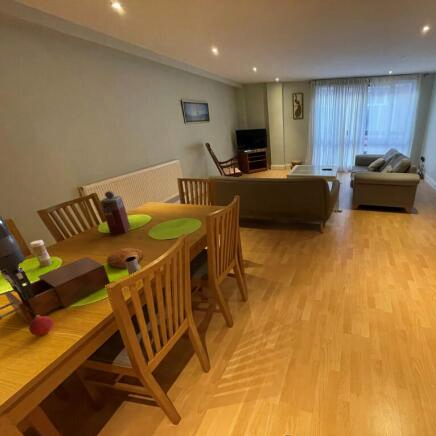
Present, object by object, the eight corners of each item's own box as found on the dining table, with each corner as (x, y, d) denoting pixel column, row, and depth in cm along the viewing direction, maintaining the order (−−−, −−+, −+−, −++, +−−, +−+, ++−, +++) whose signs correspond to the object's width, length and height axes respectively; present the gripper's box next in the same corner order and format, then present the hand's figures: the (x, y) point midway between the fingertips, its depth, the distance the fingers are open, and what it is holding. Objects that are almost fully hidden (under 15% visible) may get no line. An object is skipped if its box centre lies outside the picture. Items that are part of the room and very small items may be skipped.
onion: (37, 343, 80) (27, 325, 77) (31, 335, 83) (21, 318, 80) (59, 331, 85) (50, 313, 81) (53, 324, 87) (45, 307, 84)
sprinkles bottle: (48, 267, 122) (37, 243, 117) (38, 267, 121) (26, 244, 116) (55, 262, 126) (44, 239, 121) (45, 262, 125) (34, 240, 120)
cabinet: (64, 309, 94) (54, 287, 90) (48, 297, 101) (37, 276, 97) (111, 285, 108) (103, 264, 104) (93, 275, 115) (86, 256, 110)
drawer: (6, 336, 82) (-7, 316, 78) (-8, 321, 87) (-20, 302, 84) (80, 297, 99) (72, 280, 96) (65, 288, 105) (57, 271, 101)
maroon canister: (109, 236, 153) (95, 194, 142) (116, 229, 163) (103, 189, 152) (124, 235, 155) (112, 193, 144) (130, 228, 165) (119, 188, 154)
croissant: (123, 276, 118) (119, 263, 114) (102, 264, 123) (98, 252, 119) (149, 260, 130) (147, 248, 126) (130, 251, 135) (127, 239, 131)
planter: (137, 273, 116) (131, 255, 112) (143, 276, 114) (138, 257, 110) (128, 279, 112) (122, 260, 108) (135, 281, 110) (129, 262, 106)
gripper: (-26, 251, 71) (0, 294, 77) (-10, 263, 65) (17, 309, 71) (10, 240, 77) (31, 281, 83) (27, 250, 71) (49, 294, 77)
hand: (24, 294), depth 77 cm, fingers open, 8 cm apart
